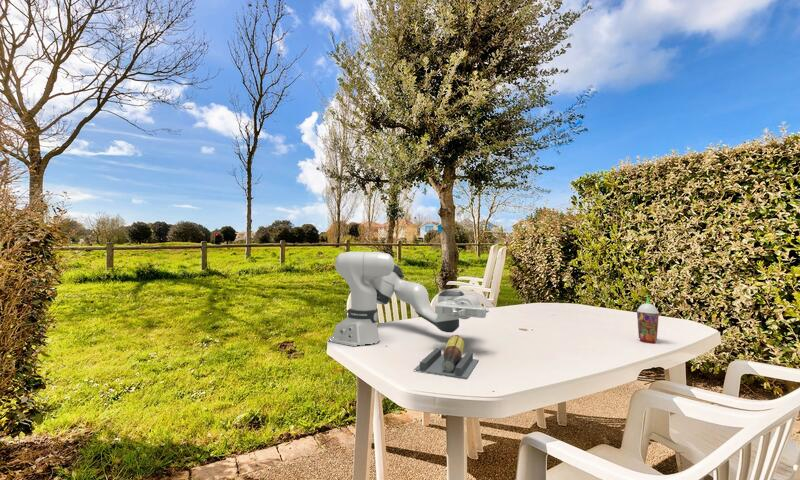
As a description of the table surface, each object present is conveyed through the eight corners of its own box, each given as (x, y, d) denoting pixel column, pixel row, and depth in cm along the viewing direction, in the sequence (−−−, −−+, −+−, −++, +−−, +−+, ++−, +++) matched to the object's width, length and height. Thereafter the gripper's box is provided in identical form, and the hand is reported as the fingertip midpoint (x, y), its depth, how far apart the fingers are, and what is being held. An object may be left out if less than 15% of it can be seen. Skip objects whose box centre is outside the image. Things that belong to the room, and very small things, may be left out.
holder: (413, 371, 122) (413, 362, 122) (431, 354, 141) (431, 347, 141) (467, 379, 115) (467, 369, 115) (478, 361, 134) (478, 352, 134)
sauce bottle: (447, 345, 140) (434, 370, 122) (451, 331, 139) (440, 354, 120) (463, 352, 138) (453, 378, 120) (468, 338, 137) (458, 362, 118)
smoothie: (640, 343, 162) (640, 298, 163) (634, 338, 170) (634, 295, 171) (662, 344, 160) (662, 299, 160) (654, 340, 168) (655, 296, 168)
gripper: (489, 317, 148) (483, 324, 135) (440, 313, 156) (430, 319, 143) (489, 302, 148) (483, 307, 135) (441, 298, 156) (431, 303, 143)
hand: (456, 313), depth 139 cm, fingers closed
